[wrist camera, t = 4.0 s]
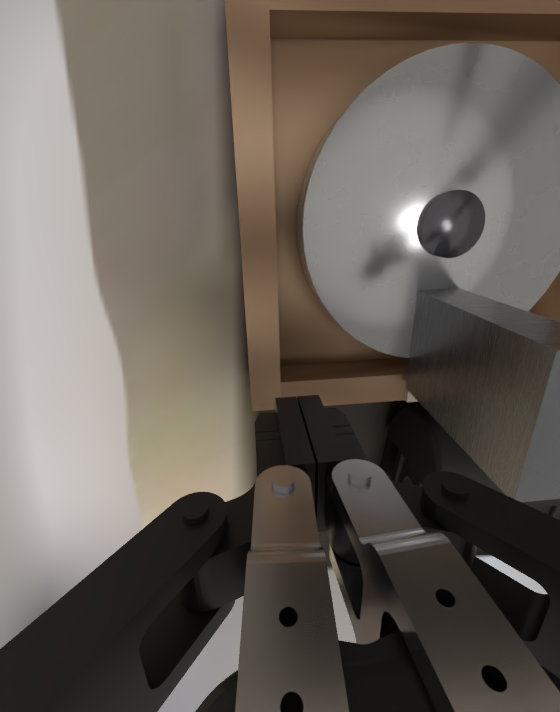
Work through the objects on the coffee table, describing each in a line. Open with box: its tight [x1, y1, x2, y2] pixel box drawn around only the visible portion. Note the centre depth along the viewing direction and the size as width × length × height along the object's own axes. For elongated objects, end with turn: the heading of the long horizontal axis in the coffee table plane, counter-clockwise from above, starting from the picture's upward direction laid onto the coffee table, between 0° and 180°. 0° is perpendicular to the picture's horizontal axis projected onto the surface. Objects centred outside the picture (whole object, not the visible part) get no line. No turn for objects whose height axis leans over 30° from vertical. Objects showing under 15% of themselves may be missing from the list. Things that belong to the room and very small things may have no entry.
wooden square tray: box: [225, 0, 560, 411], centre depth 16 cm, size 16×16×4 cm
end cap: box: [380, 406, 560, 520], centre depth 20 cm, size 10×7×7 cm
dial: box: [297, 42, 560, 502], centre depth 12 cm, size 13×11×9 cm
